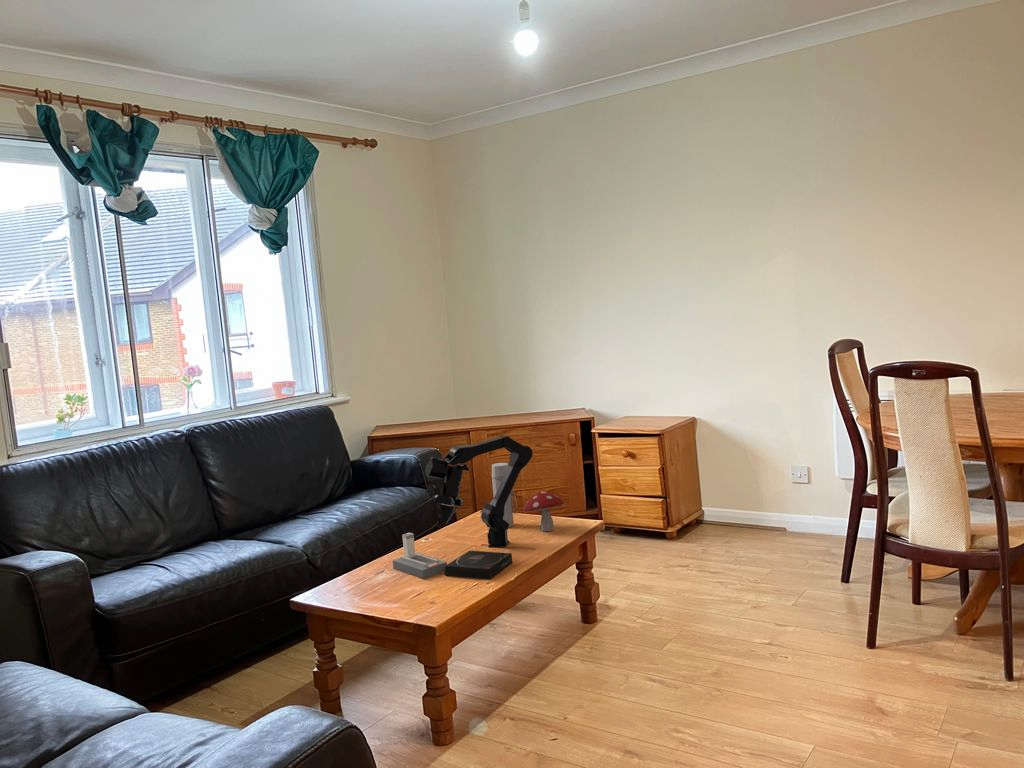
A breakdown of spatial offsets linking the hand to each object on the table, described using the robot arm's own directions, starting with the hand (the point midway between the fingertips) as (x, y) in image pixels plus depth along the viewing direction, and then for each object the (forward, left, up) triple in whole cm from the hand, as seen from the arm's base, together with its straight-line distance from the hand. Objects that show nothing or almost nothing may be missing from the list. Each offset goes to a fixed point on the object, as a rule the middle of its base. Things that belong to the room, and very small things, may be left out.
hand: (444, 524), depth 283 cm
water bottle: (-12, -40, -12) cm, 43 cm away
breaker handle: (+10, +9, -9) cm, 16 cm away
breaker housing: (+6, +12, -12) cm, 18 cm away
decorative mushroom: (-29, -33, -12) cm, 46 cm away
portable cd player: (-15, +12, -13) cm, 23 cm away
